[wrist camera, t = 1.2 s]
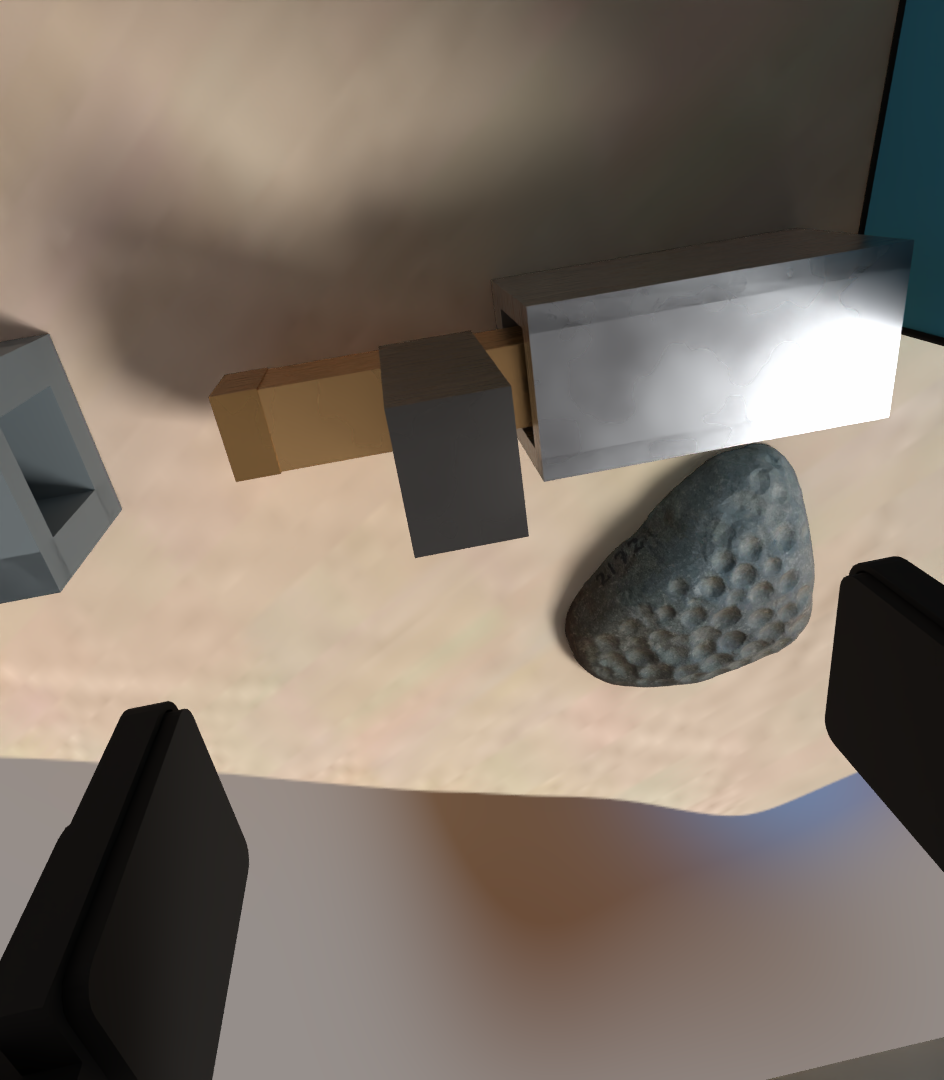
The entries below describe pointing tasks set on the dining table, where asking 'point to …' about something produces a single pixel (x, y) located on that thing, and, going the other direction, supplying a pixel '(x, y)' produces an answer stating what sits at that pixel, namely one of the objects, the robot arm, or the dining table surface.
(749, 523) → the fossil
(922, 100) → the box
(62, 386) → the socket
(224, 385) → the tan bar piece
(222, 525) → the dining table surface
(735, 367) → the sleeve
